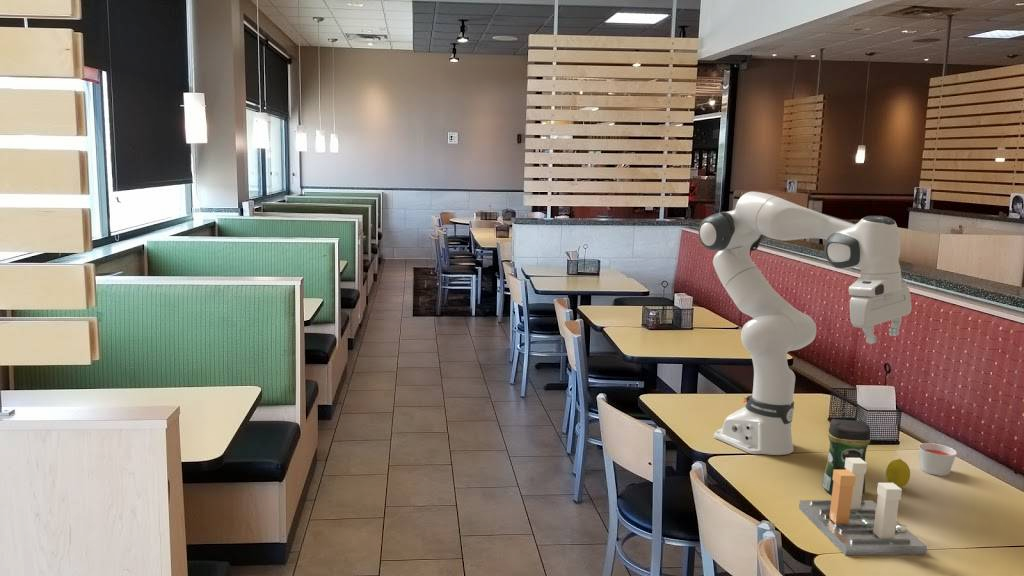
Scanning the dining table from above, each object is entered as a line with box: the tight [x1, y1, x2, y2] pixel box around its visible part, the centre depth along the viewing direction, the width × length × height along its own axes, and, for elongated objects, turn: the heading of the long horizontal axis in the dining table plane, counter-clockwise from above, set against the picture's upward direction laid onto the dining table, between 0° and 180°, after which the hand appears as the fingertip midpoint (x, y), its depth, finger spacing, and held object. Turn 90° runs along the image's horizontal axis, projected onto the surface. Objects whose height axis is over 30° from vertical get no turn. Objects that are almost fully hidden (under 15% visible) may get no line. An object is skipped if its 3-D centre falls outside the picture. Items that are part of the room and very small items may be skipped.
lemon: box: [885, 458, 911, 488], centre depth 202 cm, size 6×6×8 cm
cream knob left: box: [845, 458, 868, 509], centre depth 184 cm, size 3×3×11 cm
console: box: [798, 499, 928, 556], centre depth 178 cm, size 18×22×3 cm
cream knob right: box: [873, 482, 903, 539], centre depth 170 cm, size 3×3×11 cm
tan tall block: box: [829, 470, 856, 523], centre depth 177 cm, size 3×3×11 cm
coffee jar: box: [822, 418, 871, 496], centre depth 198 cm, size 10×8×19 cm
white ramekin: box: [918, 442, 957, 477], centre depth 215 cm, size 9×9×6 cm
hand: (882, 339), depth 193 cm, fingers open, 8 cm apart
